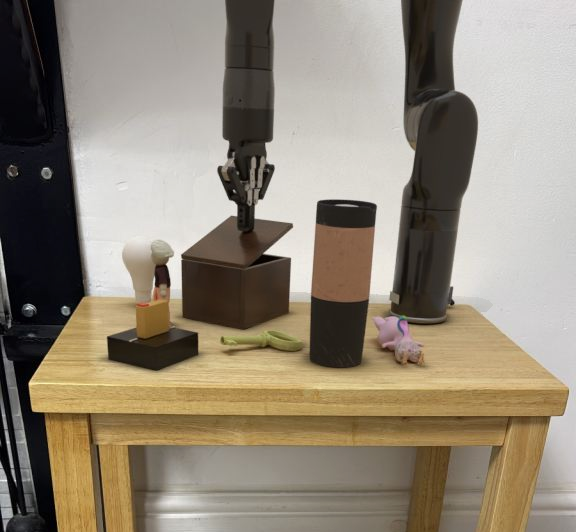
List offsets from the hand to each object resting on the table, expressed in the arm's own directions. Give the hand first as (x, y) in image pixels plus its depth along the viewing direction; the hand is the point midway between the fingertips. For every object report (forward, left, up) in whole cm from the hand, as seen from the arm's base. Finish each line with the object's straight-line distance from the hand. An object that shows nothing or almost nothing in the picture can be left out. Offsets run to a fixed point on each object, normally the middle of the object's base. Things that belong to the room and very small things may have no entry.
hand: (245, 230), depth 121 cm
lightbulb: (+7, -15, -13) cm, 21 cm away
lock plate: (+28, +4, -13) cm, 31 cm away
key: (+15, +13, -13) cm, 24 cm away
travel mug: (+14, +24, -13) cm, 31 cm away
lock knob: (+28, +4, -10) cm, 30 cm away
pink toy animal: (+5, +29, -13) cm, 32 cm away
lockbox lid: (+2, 0, -2) cm, 3 cm away
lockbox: (+2, 0, -13) cm, 13 cm away
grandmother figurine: (+16, -4, -13) cm, 21 cm away
